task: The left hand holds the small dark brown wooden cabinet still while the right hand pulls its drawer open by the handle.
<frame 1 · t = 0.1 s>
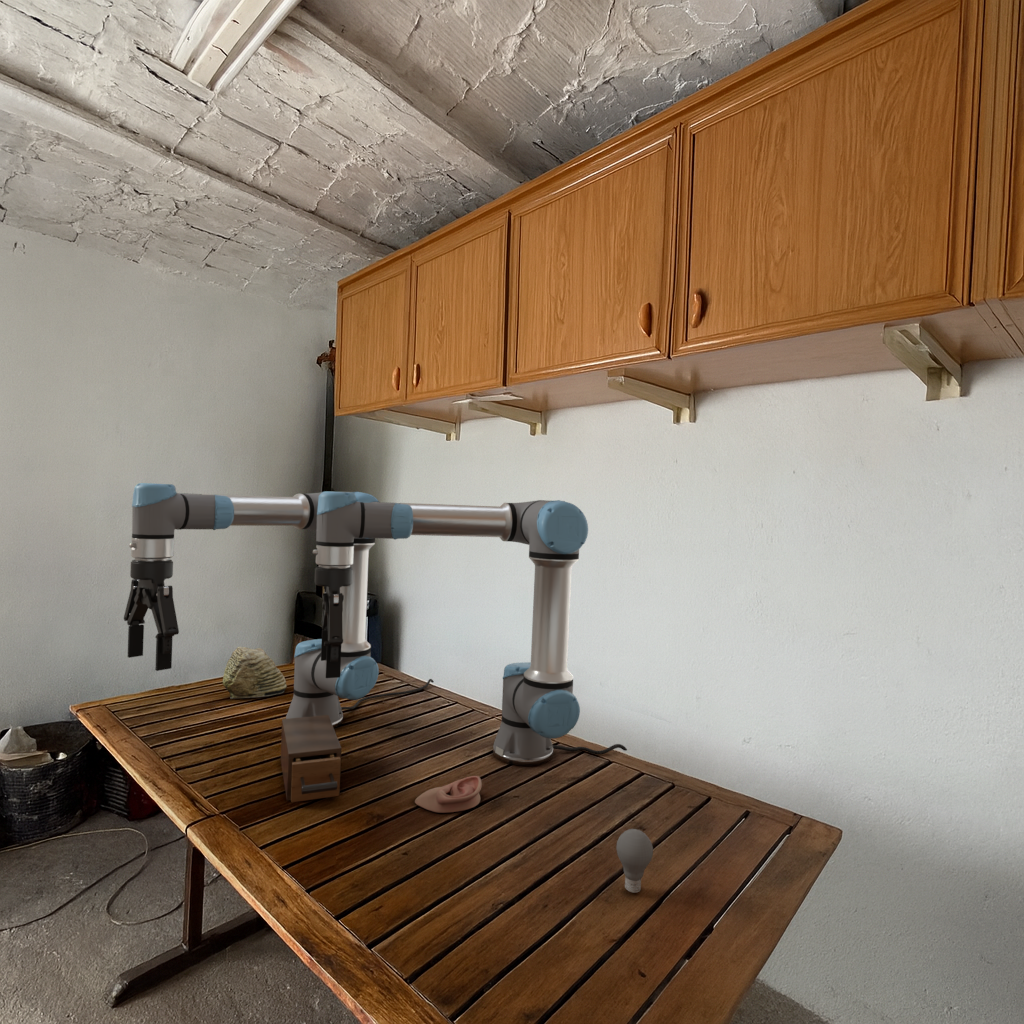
left hand: (148, 662, 129), 28 cm above the table, tool pointing down, fingers open, 13 cm apart
right hand: (330, 668, 131), 28 cm above the table, tool pointing down, fingers open, 13 cm apart
drawer: (312, 766, 137), point 5 cm above the table, slide at 2.0 cm
cabinet: (308, 775, 143), on the table
fossil: (254, 694, 198), on the table
light bulb: (632, 891, 106), on the table
anatomical model: (448, 801, 134), on the table
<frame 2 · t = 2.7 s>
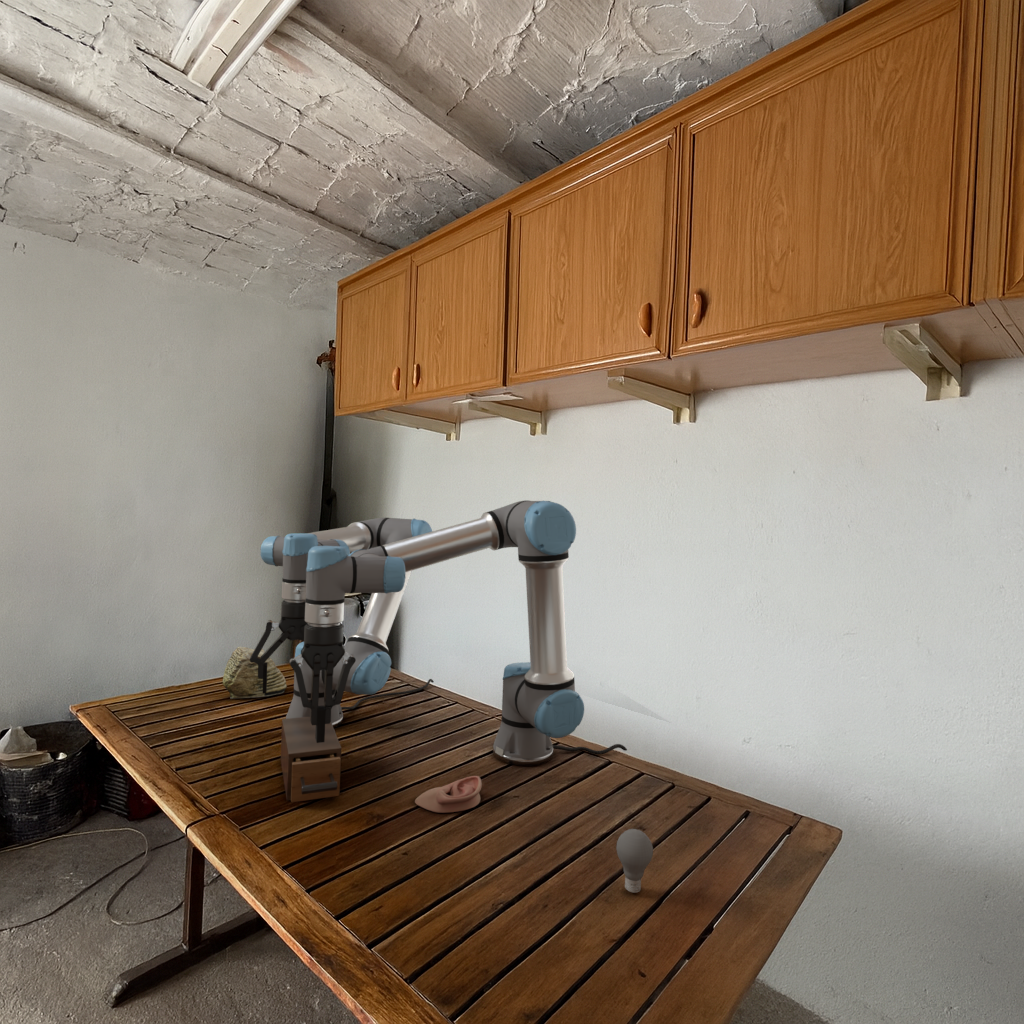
left hand: (295, 690, 148), 18 cm above the table, tool pointing down, fingers open, 13 cm apart
right hand: (319, 739, 127), 15 cm above the table, tool pointing down, fingers closed
nothing on the table moved.
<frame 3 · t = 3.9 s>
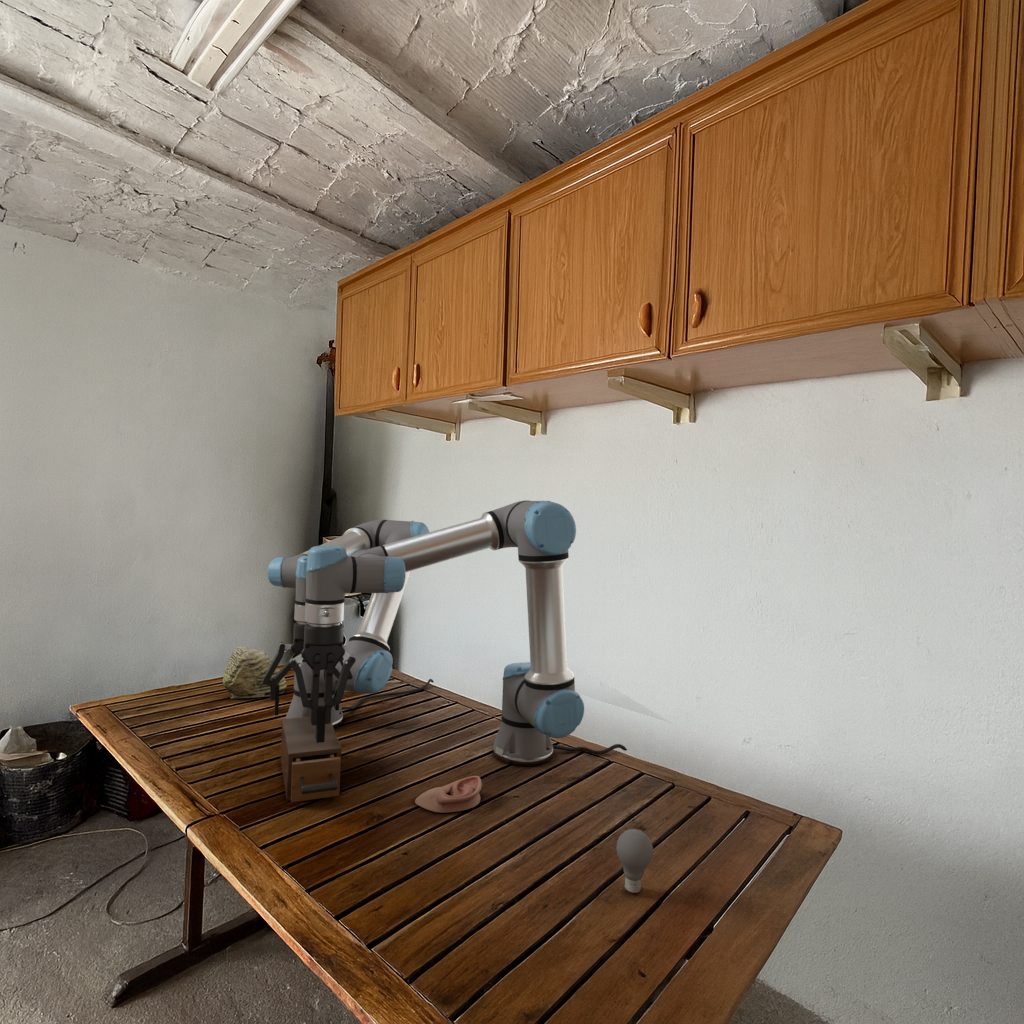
left hand: (306, 711, 150), 12 cm above the table, tool pointing down, fingers open, 13 cm apart
right hand: (319, 739, 127), 15 cm above the table, tool pointing down, fingers closed
nothing on the table moved.
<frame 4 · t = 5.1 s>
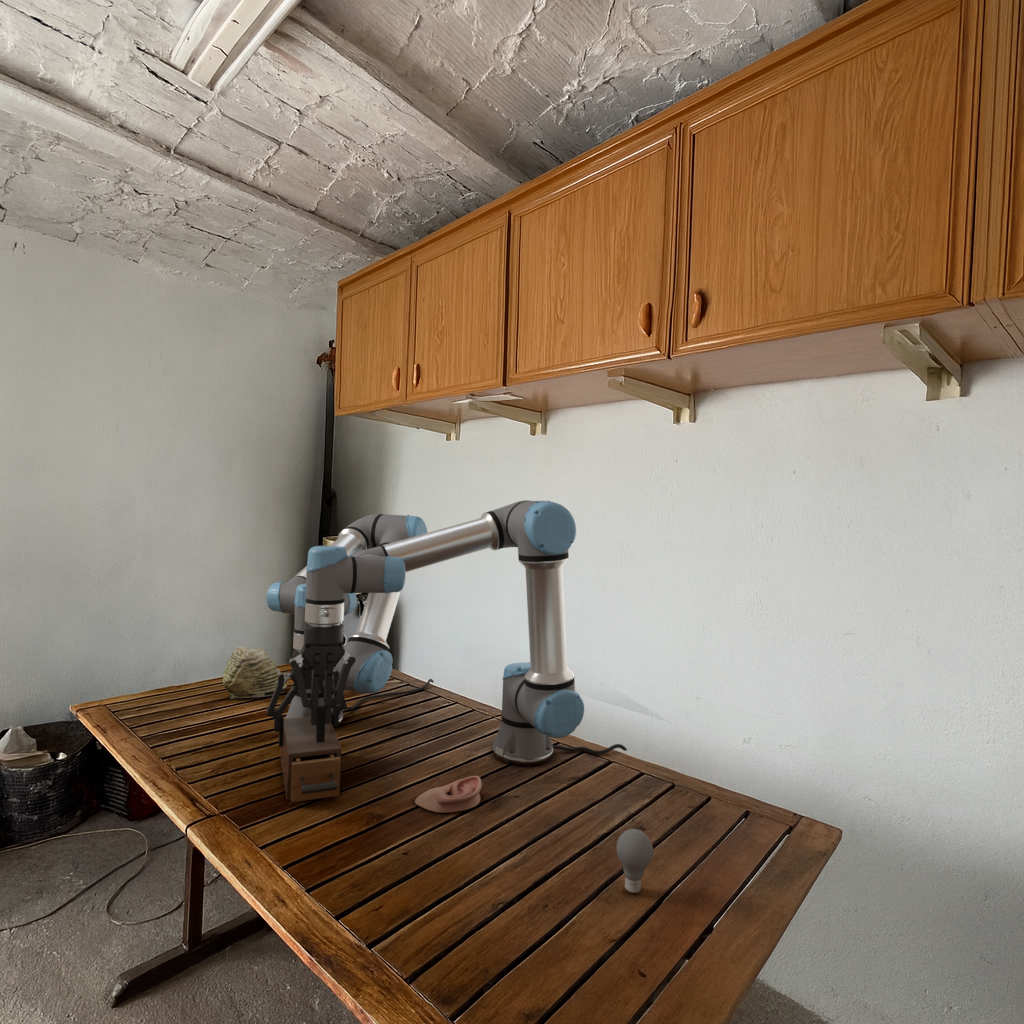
left hand: (306, 742, 150), 5 cm above the table, tool pointing down, fingers closed on cabinet, 11 cm apart
right hand: (319, 739, 127), 15 cm above the table, tool pointing down, fingers closed
cabinet: (308, 775, 143), on the table, touching left hand
everything else where it was.
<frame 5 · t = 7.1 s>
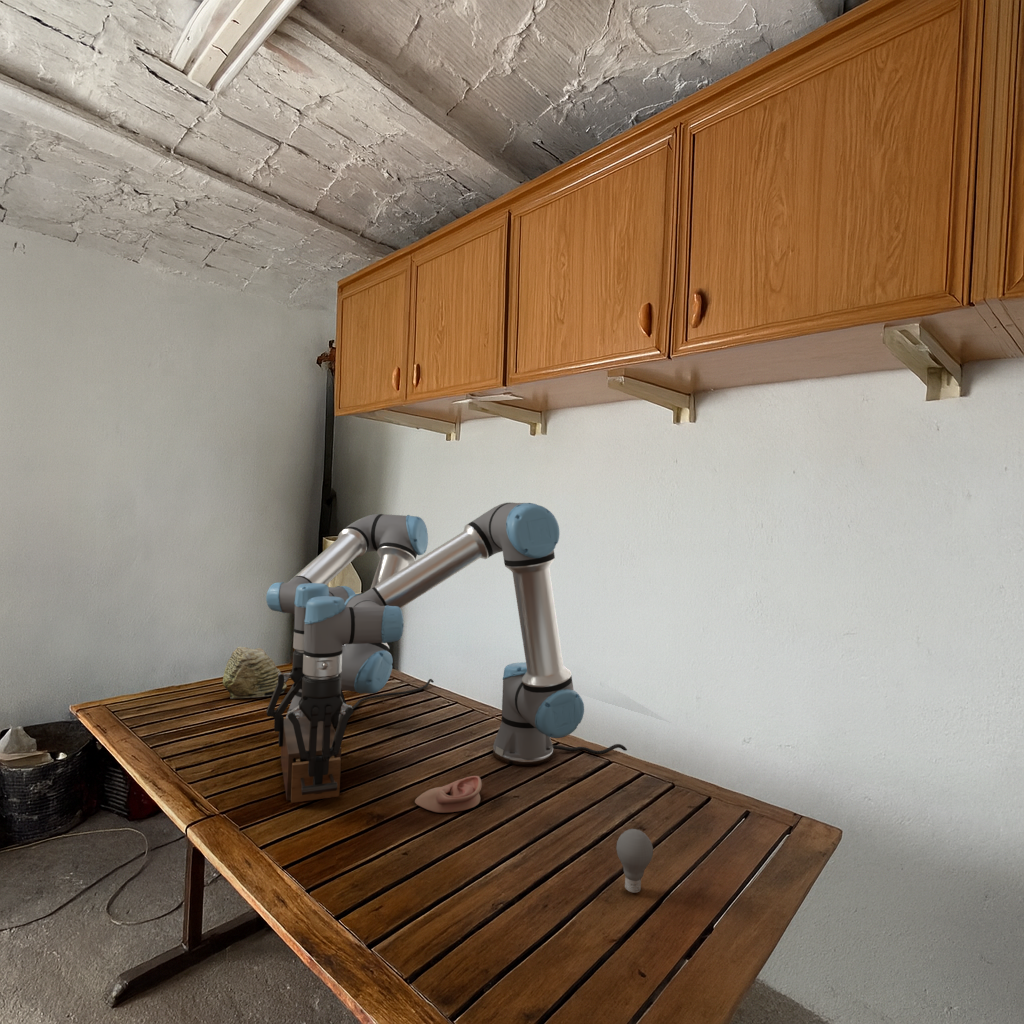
left hand: (306, 741, 150), 5 cm above the table, tool pointing down, fingers closed on cabinet, 11 cm apart
right hand: (317, 790, 128), 4 cm above the table, tool pointing down, fingers closed
drawer: (312, 766, 137), point 5 cm above the table, slide at 2.2 cm, touching right hand
cabinet: (308, 775, 143), on the table, touching left hand
everything else where it was.
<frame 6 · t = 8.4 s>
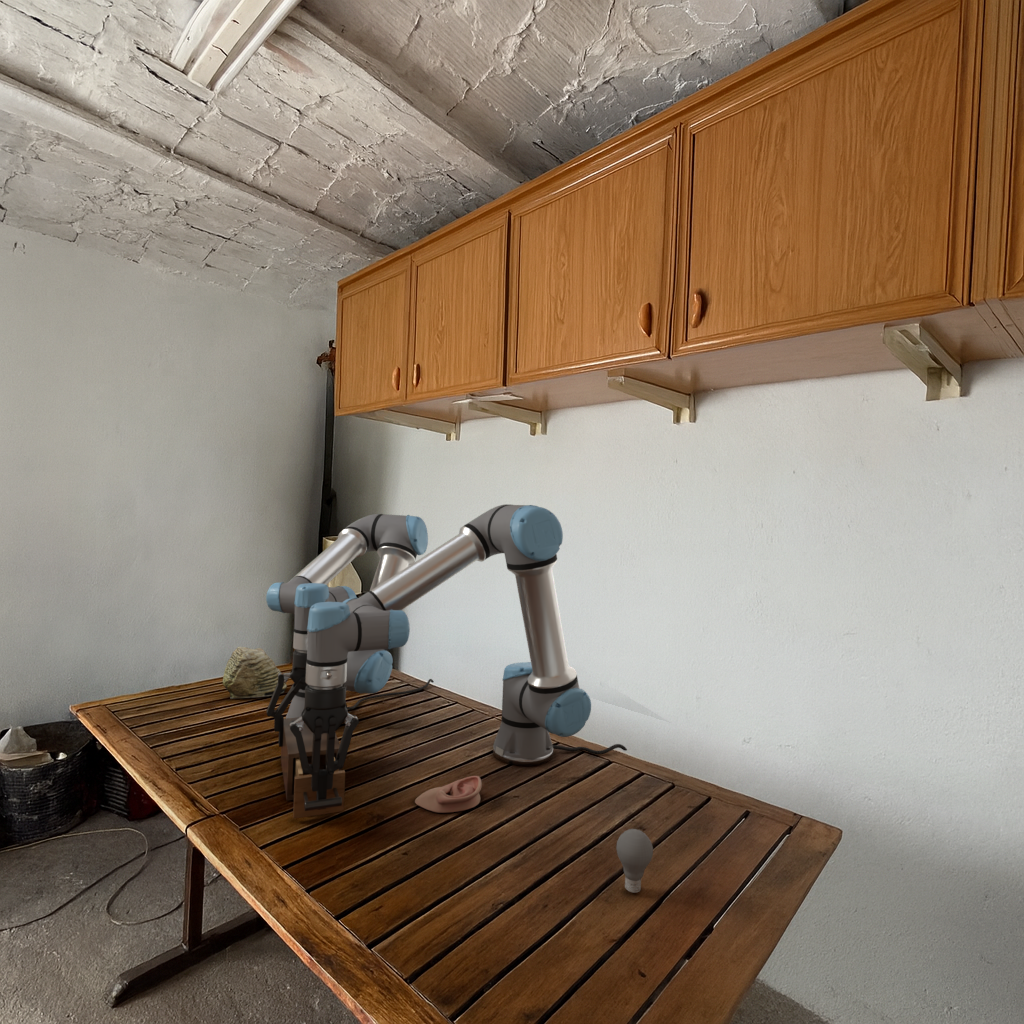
left hand: (306, 742, 150), 5 cm above the table, tool pointing down, fingers closed on cabinet, 11 cm apart
right hand: (321, 805, 121), 4 cm above the table, tool pointing down, fingers closed
drawer: (315, 779, 131), point 5 cm above the table, slide at 8.7 cm, touching right hand
cabinet: (308, 775, 143), on the table, touching left hand
everything else where it was.
when the left hand's fingers open (5 cm above the table, at t = 10.0 s): cabinet stays where it is, on the table.
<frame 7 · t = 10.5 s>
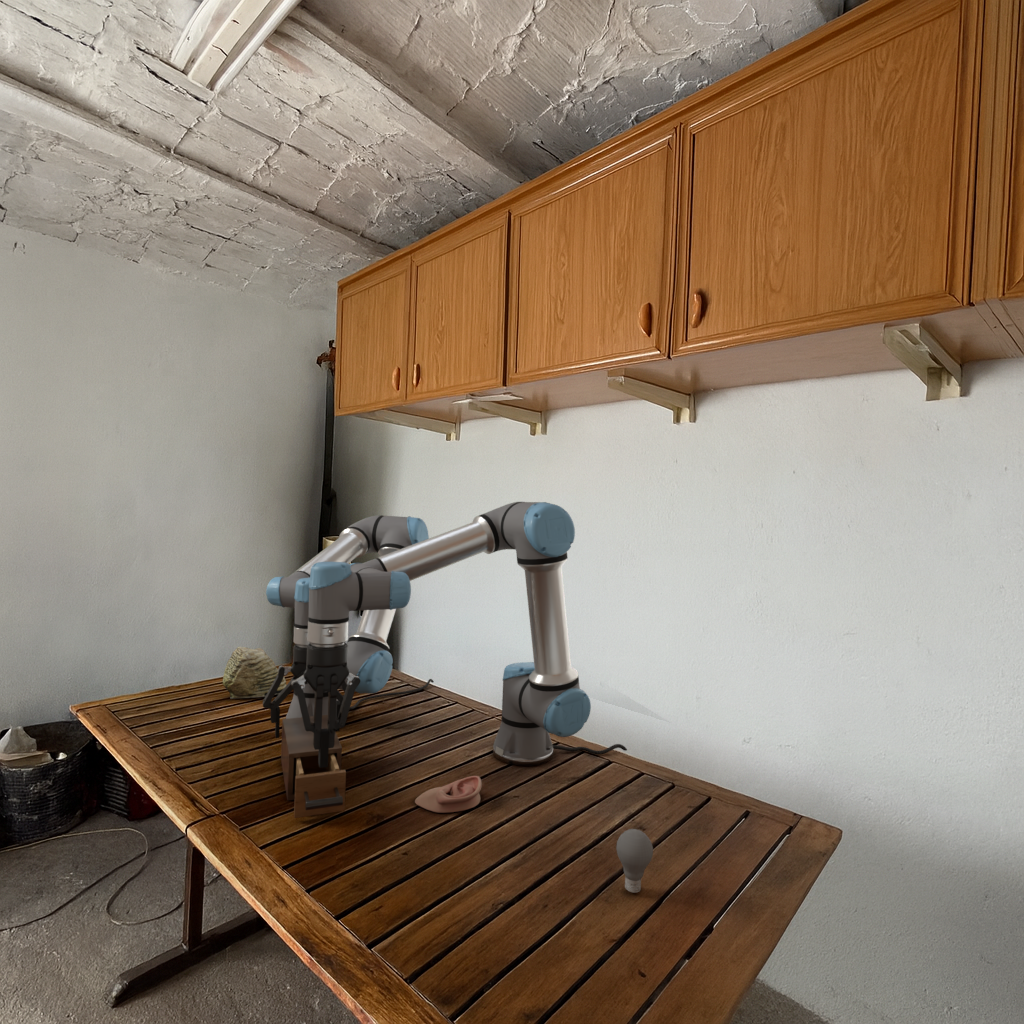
left hand: (307, 732, 150), 7 cm above the table, tool pointing down, fingers open, 13 cm apart
right hand: (323, 764, 122), 12 cm above the table, tool pointing down, fingers closed
drawer: (316, 779, 131), point 5 cm above the table, slide at 8.7 cm
cabinet: (308, 775, 143), on the table
everything else where it was.
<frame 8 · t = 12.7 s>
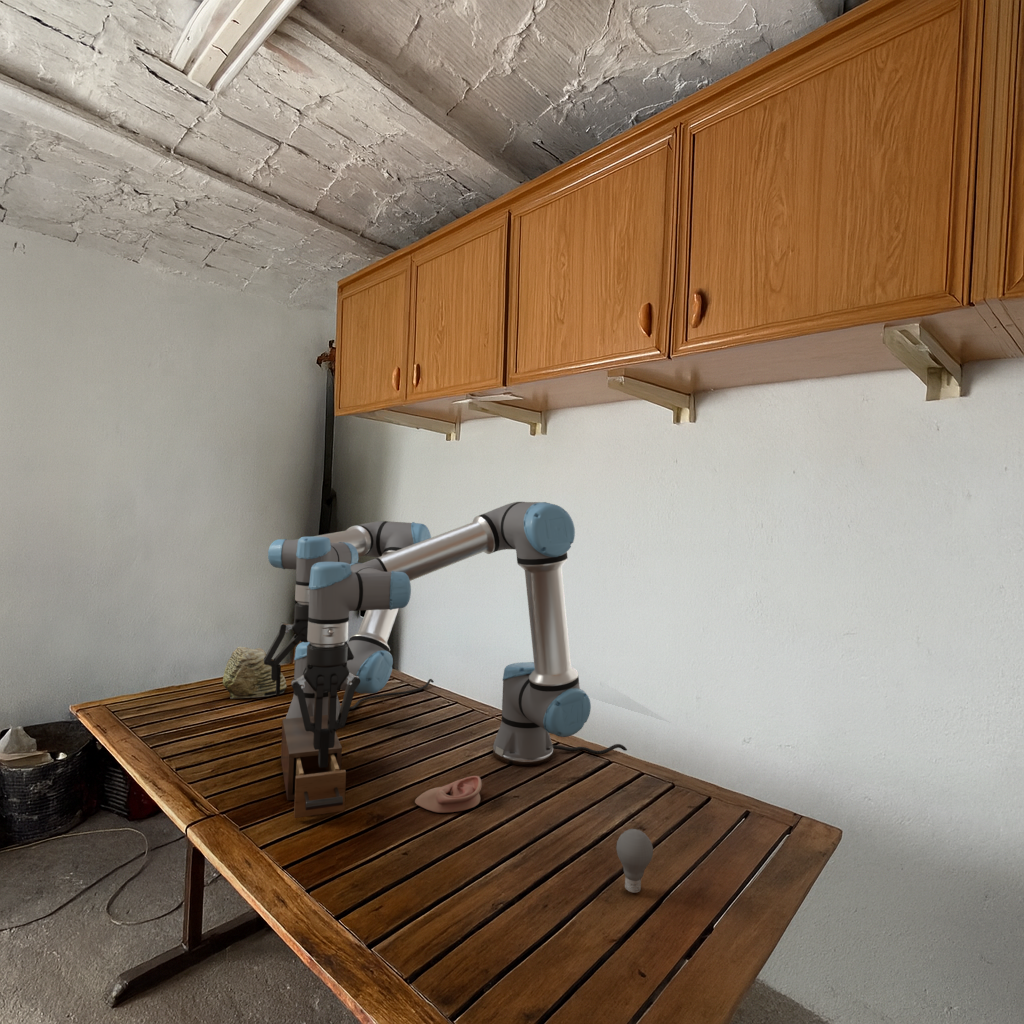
left hand: (308, 691, 150), 17 cm above the table, tool pointing down, fingers open, 13 cm apart
right hand: (323, 764, 122), 12 cm above the table, tool pointing down, fingers closed
nothing on the table moved.
at the end: drawer slide at 8.7 cm; cabinet tilted 0°; cabinet never tilted more than 1° during the clip; cabinet moved 0.1 cm from its start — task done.
